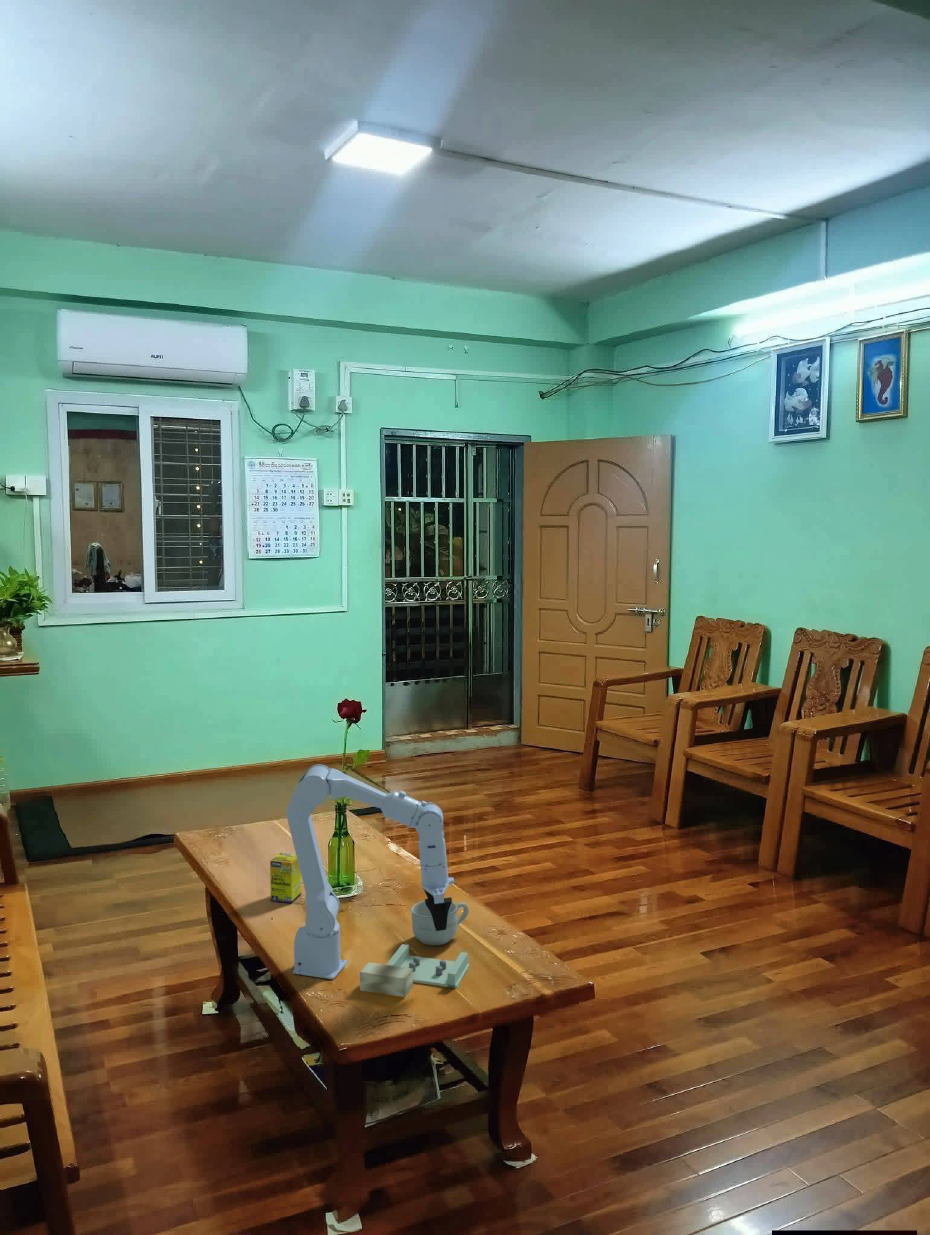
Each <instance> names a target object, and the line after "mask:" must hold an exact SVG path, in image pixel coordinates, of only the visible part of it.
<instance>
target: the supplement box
mask: <svg viewBox="0 0 930 1235" xmlns="http://www.w3.org/2000/svg"><path fill="white" fill-rule="evenodd" d="M269 864H270V865H269V870H270V871H269V872H270V876H269V877H270V901H271V902H272V901H275V902H276V903H284V904H289V903H290V905H293V903H295V901H296V900H297V899H298V898H300V897H301V895H302V876H301V872H300V868H299V864H298V860H297V856H296V854H292V853H284V852H279V853H278V854H276V855H275V856H273V858H271V860H269Z"/></svg>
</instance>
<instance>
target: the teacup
mask: <svg viewBox="0 0 930 1235" xmlns="http://www.w3.org/2000/svg"><path fill="white" fill-rule="evenodd" d="M460 908H463V913H462V914H461V915H460V916H459V917H458V911H459V909H460ZM469 910H470V909H469V907H468V905H467V903H465V902H462V901H460V902H457V903H454V902H453V901H452V903H451V906H450V908H449V911H448V917H447V927H446V930H442V931H436V929H435V926H434V922H433V918H432V915H431V913H430V911H429V909H428V907H427V906H426V904H425V900H422V901H419V902H417V903H414V904H413V905H412V906H411V908H410V913H411V927H412V932H413V935H414V938H416V939H417V940H418V941H420V943H422V944H424V945H426V946H440V945H441V946H442V945H445V944H447V943H448V942H450V941H451V939H453V938H454V937H455V936H456V934H457V931H458V927H459V925H460V924H461V923H462V922H464V921H465V919H466V918H467V916H469Z"/></svg>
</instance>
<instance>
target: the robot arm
mask: <svg viewBox="0 0 930 1235" xmlns="http://www.w3.org/2000/svg"><path fill="white" fill-rule="evenodd" d="M406 794H407V793H406V791H404V790H400V792H397V791H396V790H394V791H391V792H388V793H386V792H383V791H382V790H380V789H378V788H375V787H373V786H370V785H369V784H366V783H365V782H363V781H360V780H358V779H356V778H354V777H353V776H350V775H348V774H346V773H344V772H342V771H340V770H338V769H336V768H333V767H331V768H330V767H328V766H327V765H324V764H321V763H320V764H319V763H318V764H314V765H312V766H310V767H309V768H308V769H307V770H306V771H305V772H304V774H303V775H302V776H301V777H300V779H299V781H298V783H297V784H296V786H295V788H294V791H293V794H292V797H291V798H290V800H289V804H288V806H287V808H286V813H285V814H286V820H287V824H288V828H289V832H290V835H291V840H292V844H293V848H294V851H295V855H296V856H297V860H298V864H299V868H300V872H301V881H302V884H303V888H304V892H305V893H304V894H305V895H304V896H305V900H304V901H305V908H306V917H305V920H304V922H305V925H302V926H300V927H298V929H297V931H296V932H295V935H294V942H293V957H294V958H293V959H294V961H293V962H294V963H293V964H294V969H293V970H292V974H295V975H300V974H301V975H302V976H308V977H315V978H322V979H328V980H334V979H335V978H336V977H337V975H339V974H340V972H341V971H342V970H343V969H344V968H345V967H346V965H347V964H348V960H346V959H341V925H340V923H339V922H338V920H337V917H338V913H339V911H340V907H341V903H340V900H339V898H338V896H337V895H336V894H335V893H334V891H333V889H332V885H331V883H329V882H328V879H327V874H326V870H325V867H324V862H323V858H322V854H321V851H320V846H319V841H318V838H317V833H316V830H315V826H314V822H313V817H312V813H313V811H314V810H315V809H316V807H318V806H319V805H321V804H323V802H325V801H326V799H328V797H329V796H330V801H334V800H337V799H339V798H344V797H347V798H350V799H353V800H356V801H358V802H361V803H365V804H368V805H370V806H372V807H375V808H378V809H380V810H381V812H382V814H383V816H384V817H385V818H387V819H389V820H393V821H394V822H397V823H399V824H401V825H404V826H406V827H409V828H414V829H415V831H416V833H417V834H418V852H419V865H420V874H421V883H420V884H421V888H422V890H423V891H424V893H425V894H426V898H425V899H424V901H425V904H426V906H427V907H428V909H429V911H430V913H431V915H432V918H433V922H434V926H435V929H436V931H442V930H446V927H447V917H448V911H449V908H450V906H451V903H452V902H453V899H452V897H451V896H450V897H445V893H446V891H447V889H448V888H449V886H450V885H453V884H455V879H454V877H452V876H451V877H449V871H448V859H447V849H446V848H447V847H446V840H445V833H444V832H445V831H444V826H445V824H444V813H443V810H442V808H440V807H439V806H438V805H437V804H436V803H434V802H431V801H430V802H427V801H424V800H422V801H420V800H418V799H415V798H412V797H411V796H408V795H406ZM301 975H300V976H301Z"/></svg>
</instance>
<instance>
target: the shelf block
mask: <svg viewBox="0 0 930 1235" xmlns="http://www.w3.org/2000/svg"><path fill="white" fill-rule="evenodd" d="M413 988H414V982H413V969H412V968H405V967H398V966H391V965H386V964H382V963H376V962H370V961H369V962H367V963H366V964H365V965H364V967H362V968H361V970H360V971H359V991H363V992H369V993H374V994H375V993H376V994H383V995H389V996H393V997H394V996H396V997H401V998H407V996H408V995H409V993H410V992H411V990H412V989H413Z"/></svg>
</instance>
